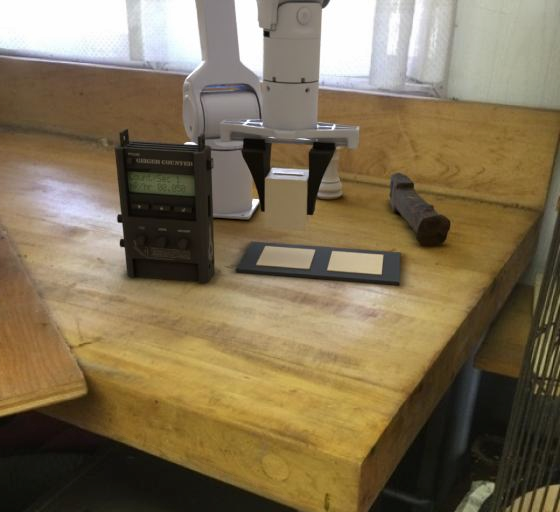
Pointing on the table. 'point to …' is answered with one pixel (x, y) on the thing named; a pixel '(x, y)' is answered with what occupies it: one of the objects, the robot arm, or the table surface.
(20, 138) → the table surface
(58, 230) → the table surface
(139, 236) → the geiger counter
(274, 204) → the slotted ballot box
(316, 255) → the word mat
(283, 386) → the table surface
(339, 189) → the rook chess piece
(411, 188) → the hand tool
